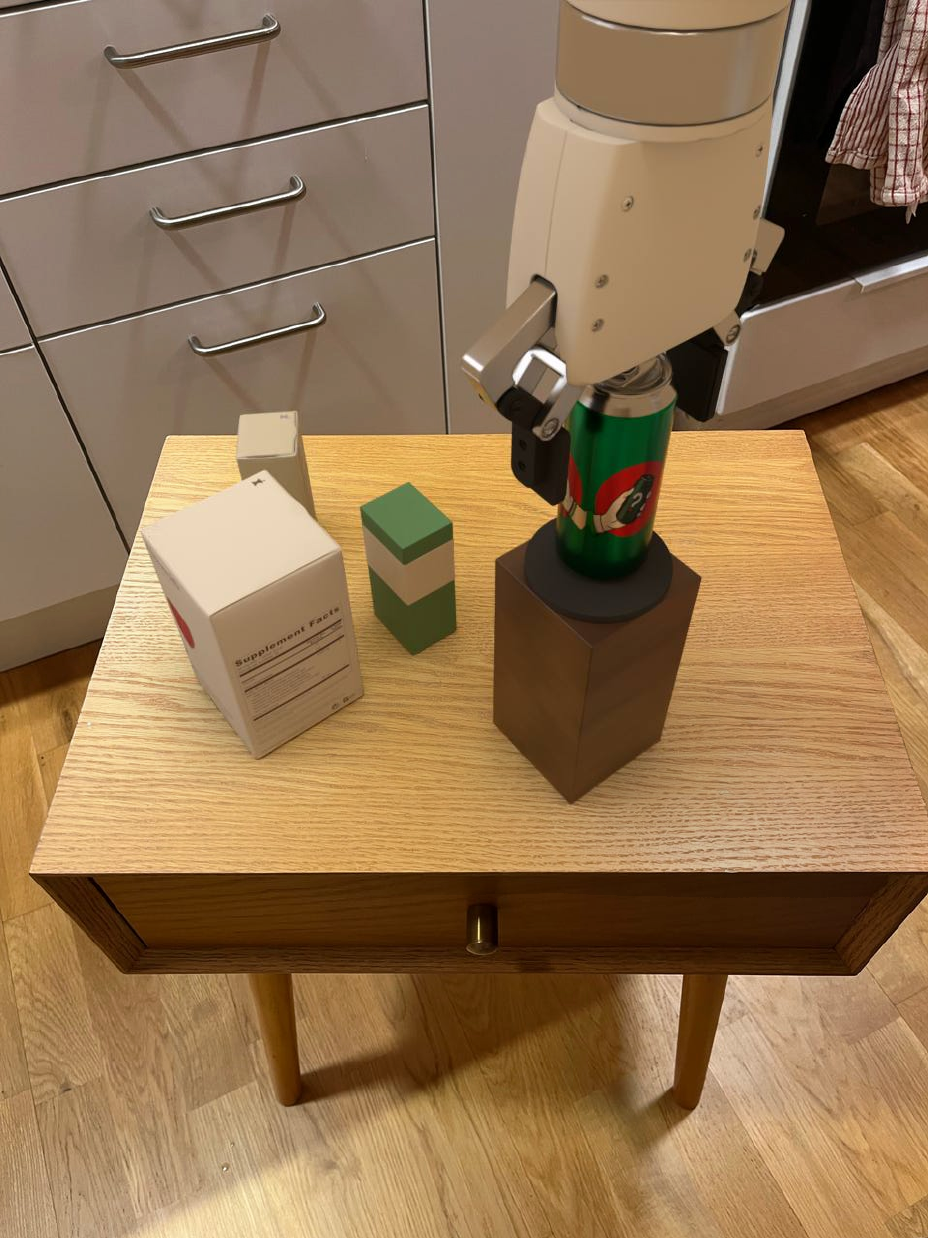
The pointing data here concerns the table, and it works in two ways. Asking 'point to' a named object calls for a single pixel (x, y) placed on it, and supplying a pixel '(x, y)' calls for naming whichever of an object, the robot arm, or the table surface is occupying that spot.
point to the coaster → (596, 582)
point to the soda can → (616, 470)
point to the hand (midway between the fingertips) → (614, 445)
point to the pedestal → (584, 678)
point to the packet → (410, 566)
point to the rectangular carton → (259, 609)
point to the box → (275, 453)
